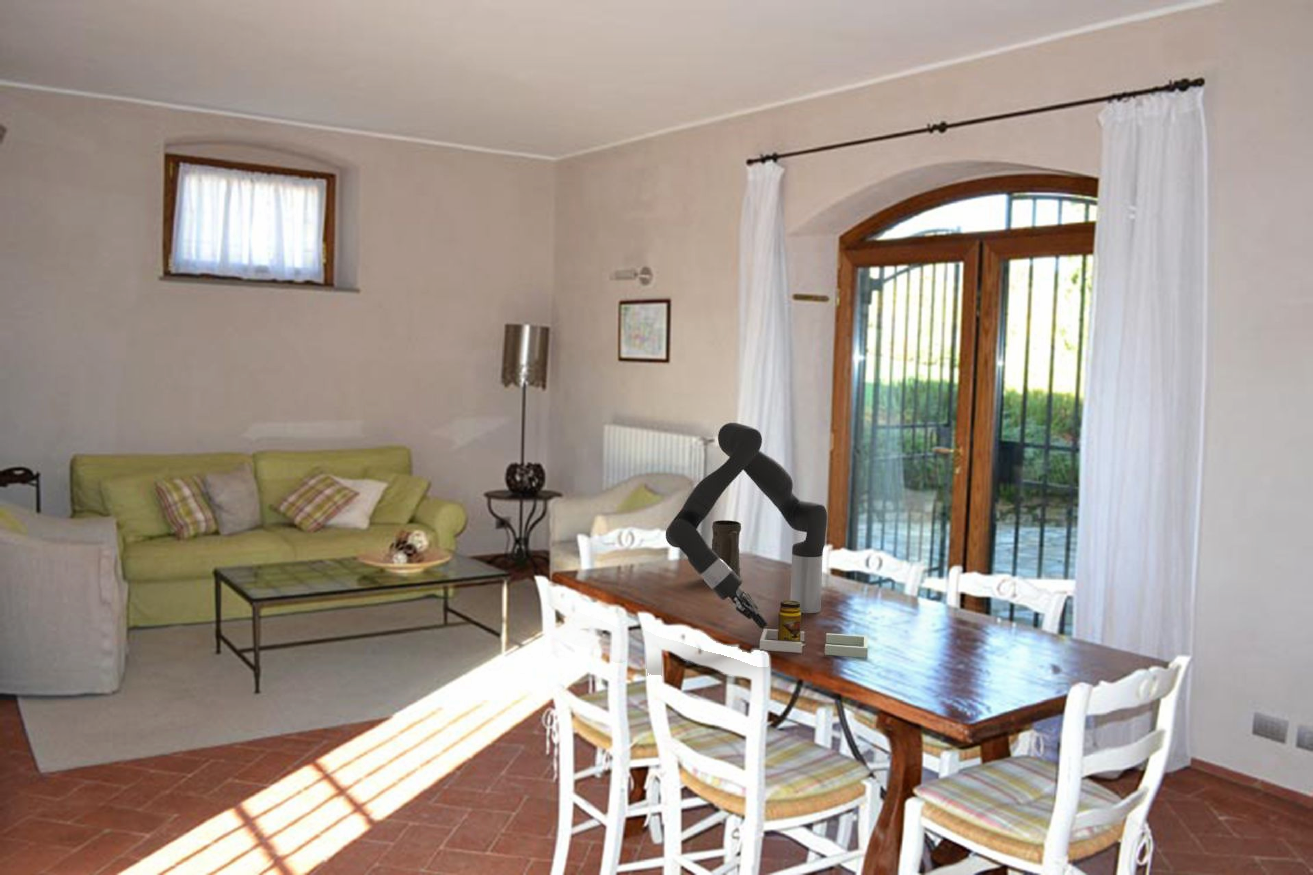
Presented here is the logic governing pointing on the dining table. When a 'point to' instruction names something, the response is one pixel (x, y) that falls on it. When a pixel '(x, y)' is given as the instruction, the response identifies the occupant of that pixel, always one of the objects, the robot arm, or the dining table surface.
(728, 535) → the beer stein
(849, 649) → the white shallow tray
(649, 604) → the dining table surface
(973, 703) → the dining table surface
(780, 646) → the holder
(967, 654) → the dining table surface
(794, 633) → the condiment
